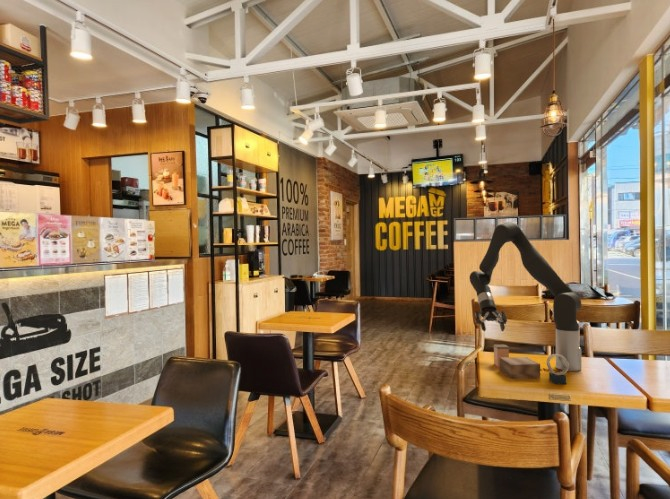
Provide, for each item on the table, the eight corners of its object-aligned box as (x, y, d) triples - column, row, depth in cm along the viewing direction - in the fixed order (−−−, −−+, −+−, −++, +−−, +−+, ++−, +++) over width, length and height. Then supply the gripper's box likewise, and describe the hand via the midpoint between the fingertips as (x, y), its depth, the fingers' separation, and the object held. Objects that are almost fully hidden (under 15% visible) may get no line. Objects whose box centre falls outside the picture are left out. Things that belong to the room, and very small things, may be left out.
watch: (571, 384, 177) (571, 356, 177) (550, 384, 177) (549, 355, 177) (565, 380, 182) (565, 352, 182) (544, 379, 183) (544, 352, 183)
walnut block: (527, 370, 197) (526, 357, 197) (540, 378, 185) (540, 364, 185) (499, 371, 197) (499, 357, 197) (511, 379, 185) (511, 364, 185)
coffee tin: (505, 364, 208) (505, 344, 208) (509, 367, 203) (509, 347, 203) (493, 364, 208) (493, 344, 208) (497, 367, 203) (497, 347, 203)
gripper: (473, 298, 225) (480, 325, 214) (502, 298, 224) (510, 325, 213) (470, 307, 230) (477, 334, 219) (499, 307, 230) (507, 334, 218)
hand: (493, 330), depth 216 cm, fingers open, 8 cm apart
